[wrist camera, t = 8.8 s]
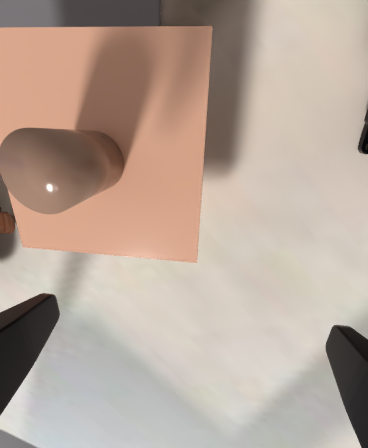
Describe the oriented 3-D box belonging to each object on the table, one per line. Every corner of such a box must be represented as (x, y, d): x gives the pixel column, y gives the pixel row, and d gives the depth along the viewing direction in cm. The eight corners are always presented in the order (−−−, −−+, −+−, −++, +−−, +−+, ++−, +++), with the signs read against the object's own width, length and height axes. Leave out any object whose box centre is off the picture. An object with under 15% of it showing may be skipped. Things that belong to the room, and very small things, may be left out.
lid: (212, 33, 10) (213, -58, 5) (197, 256, 15) (190, 315, 10) (-20, 34, 11) (-192, -41, 7) (31, 241, 16) (-48, 288, 11)
